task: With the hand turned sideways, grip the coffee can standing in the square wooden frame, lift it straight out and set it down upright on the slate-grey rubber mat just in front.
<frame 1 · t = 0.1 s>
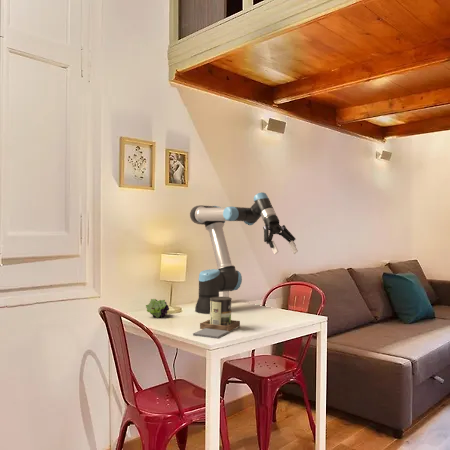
hand: (286, 252, 226), 36 cm above the table, tool tilted 35°, fingers open, 13 cm apart
coffee can: (220, 327, 216), resting in square wooden frame
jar: (222, 303, 285), on the table
fruit: (158, 317, 238), on the table
mat: (211, 334, 202), on the table
square wooden frame: (220, 327, 216), on the table
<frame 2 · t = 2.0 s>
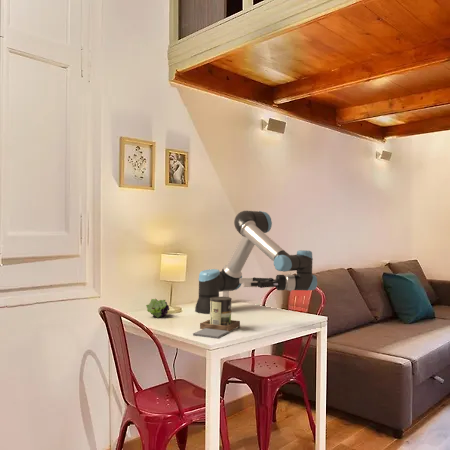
hand: (241, 282, 217), 22 cm above the table, tool horizontal, fingers open, 13 cm apart
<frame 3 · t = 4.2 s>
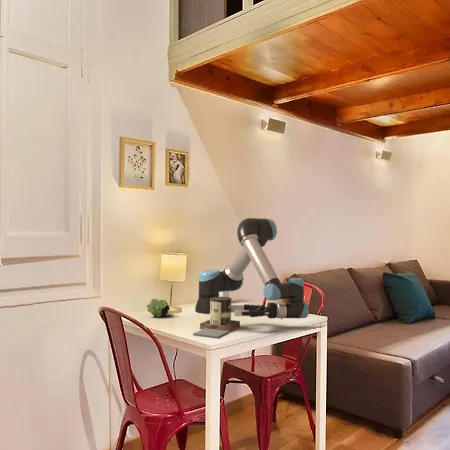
hand: (232, 310, 216), 8 cm above the table, tool horizontal, fingers open, 13 cm apart
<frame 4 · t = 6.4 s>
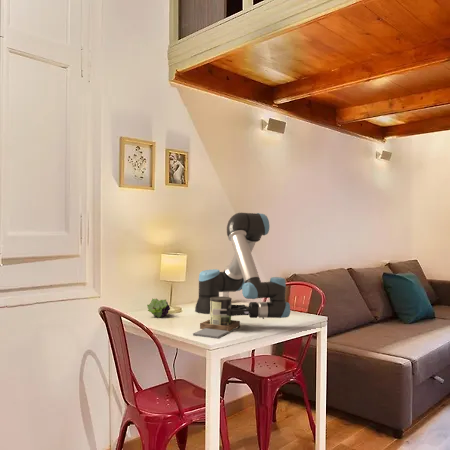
hand: (211, 309, 215), 8 cm above the table, tool horizontal, fingers closed on coffee can, 10 cm apart
coffee can: (220, 327, 216), resting in square wooden frame, touching gripper
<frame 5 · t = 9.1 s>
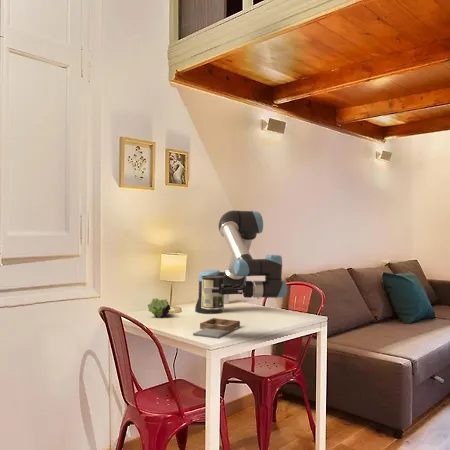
hand: (203, 288, 202), 20 cm above the table, tool horizontal, fingers closed on coffee can, 10 cm apart
coffee can: (212, 308, 202), point 12 cm above the table, touching gripper
when the fingers open (11 cm above the table, at t = 11.9 s): coffee can drops 1 cm, resting on mat.
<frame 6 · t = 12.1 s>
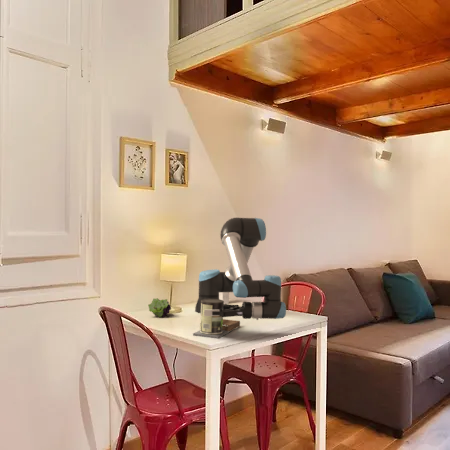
hand: (203, 310, 202), 11 cm above the table, tool horizontal, fingers open, 12 cm apart
coffee can: (211, 332, 202), point 1 cm above the table, touching mat
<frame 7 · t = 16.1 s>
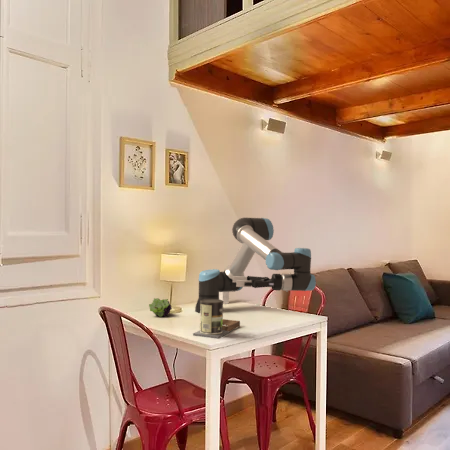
hand: (234, 281, 203), 24 cm above the table, tool horizontal, fingers open, 13 cm apart
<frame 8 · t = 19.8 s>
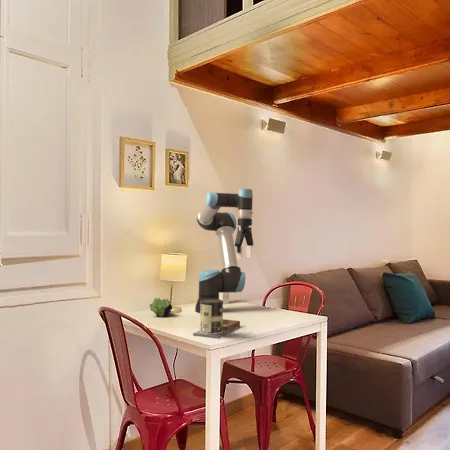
hand: (244, 258, 237), 32 cm above the table, tool pointing down, fingers open, 13 cm apart
at the end: coffee can inside the target area on the mat (0.1 cm from its centre), point 0.6 cm above the mat's base; coffee can tilted 0°; the gripper is holding nothing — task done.
